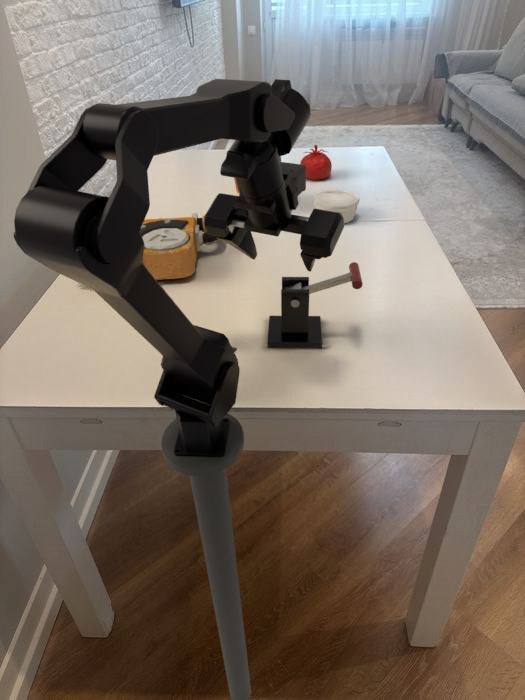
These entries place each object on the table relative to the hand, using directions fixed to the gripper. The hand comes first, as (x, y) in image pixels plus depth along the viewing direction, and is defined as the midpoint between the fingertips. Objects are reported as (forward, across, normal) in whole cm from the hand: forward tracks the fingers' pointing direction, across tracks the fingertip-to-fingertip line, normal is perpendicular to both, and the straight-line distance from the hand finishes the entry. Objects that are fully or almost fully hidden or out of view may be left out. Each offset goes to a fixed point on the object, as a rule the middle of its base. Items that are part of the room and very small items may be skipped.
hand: (282, 262), depth 73 cm
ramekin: (+37, +10, -42) cm, 57 cm away
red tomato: (+49, +26, -68) cm, 87 cm away
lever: (+8, -5, -2) cm, 10 cm away
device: (+21, +37, -8) cm, 43 cm away
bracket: (+15, -1, +4) cm, 15 cm away
